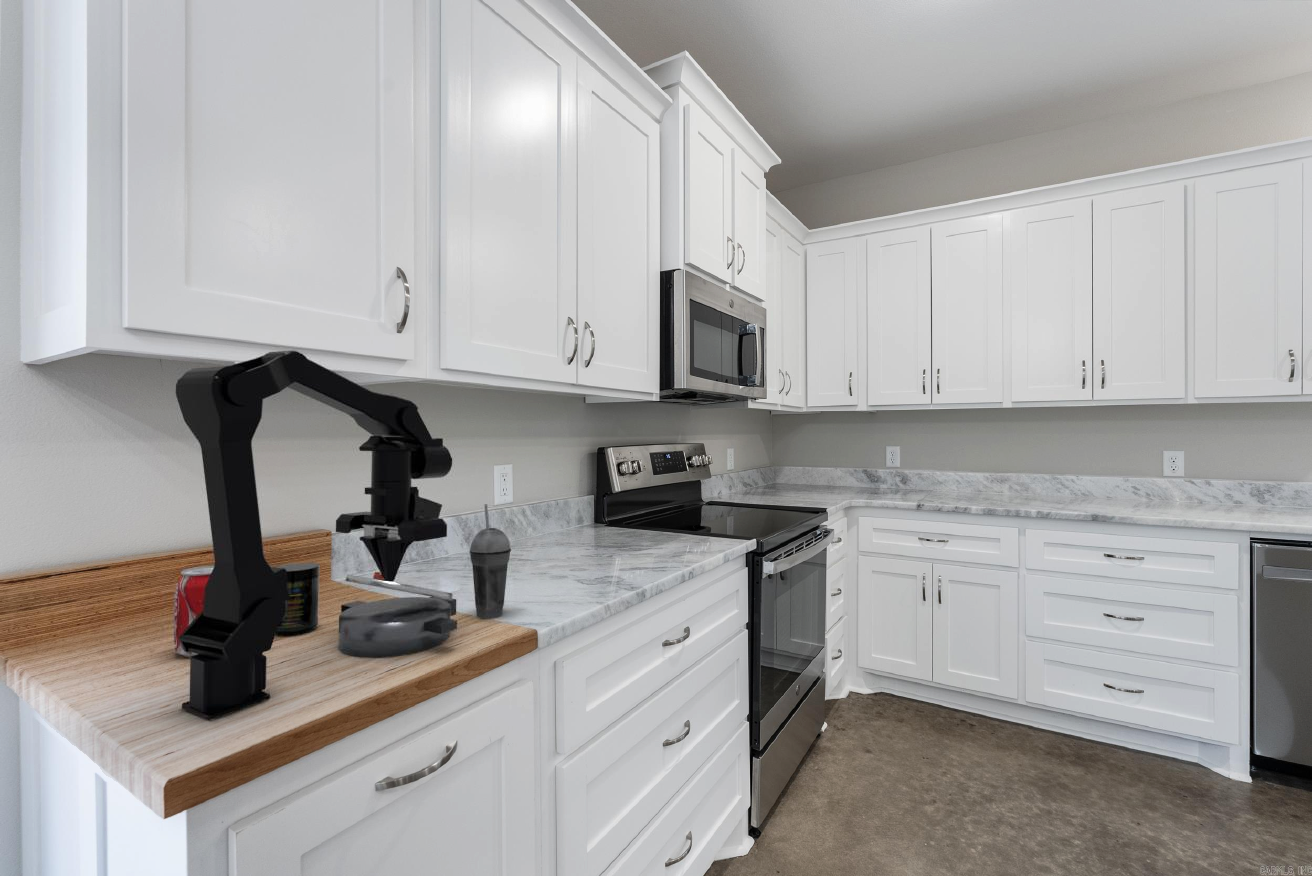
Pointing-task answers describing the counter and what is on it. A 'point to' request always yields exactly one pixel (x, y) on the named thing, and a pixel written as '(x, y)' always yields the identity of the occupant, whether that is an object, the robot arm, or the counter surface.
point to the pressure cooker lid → (397, 586)
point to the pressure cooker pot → (395, 626)
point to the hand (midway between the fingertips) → (389, 581)
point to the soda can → (189, 601)
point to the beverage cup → (489, 570)
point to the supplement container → (301, 599)
